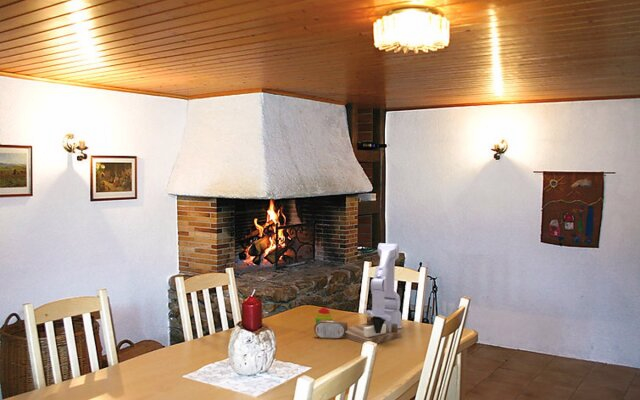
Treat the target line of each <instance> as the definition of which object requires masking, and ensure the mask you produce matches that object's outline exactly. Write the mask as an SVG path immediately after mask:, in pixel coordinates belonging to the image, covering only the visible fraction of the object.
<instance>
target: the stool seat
mask: <svg viewBox="0 0 640 400" xmlns="http://www.w3.org/2000/svg"><path fill="white" fill-rule="evenodd" d="M371 318H373V316H367V317H366V322H365V323H362V324H357V325H353V326H348V322H347V321H341V322H342V323H344V325H345V327H346V332H345V334H344V336H343V337H342V338H345V339H348V340H351V341H354V342H357V343H360V344H363V343H364V342H365V341H372V342H375V343H377V344H381V343H384V342H388V341H391V340H396V339H399V338H402V337H403V335H402V334H403V332H402V331H400V330H399V329H398V324H391V329H390V328H389V333H384V334H379V335H375V336H371V337H365V336H364V328H365V327H369V326H373V323H372V321H371ZM363 345H364V344H363Z"/></svg>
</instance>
